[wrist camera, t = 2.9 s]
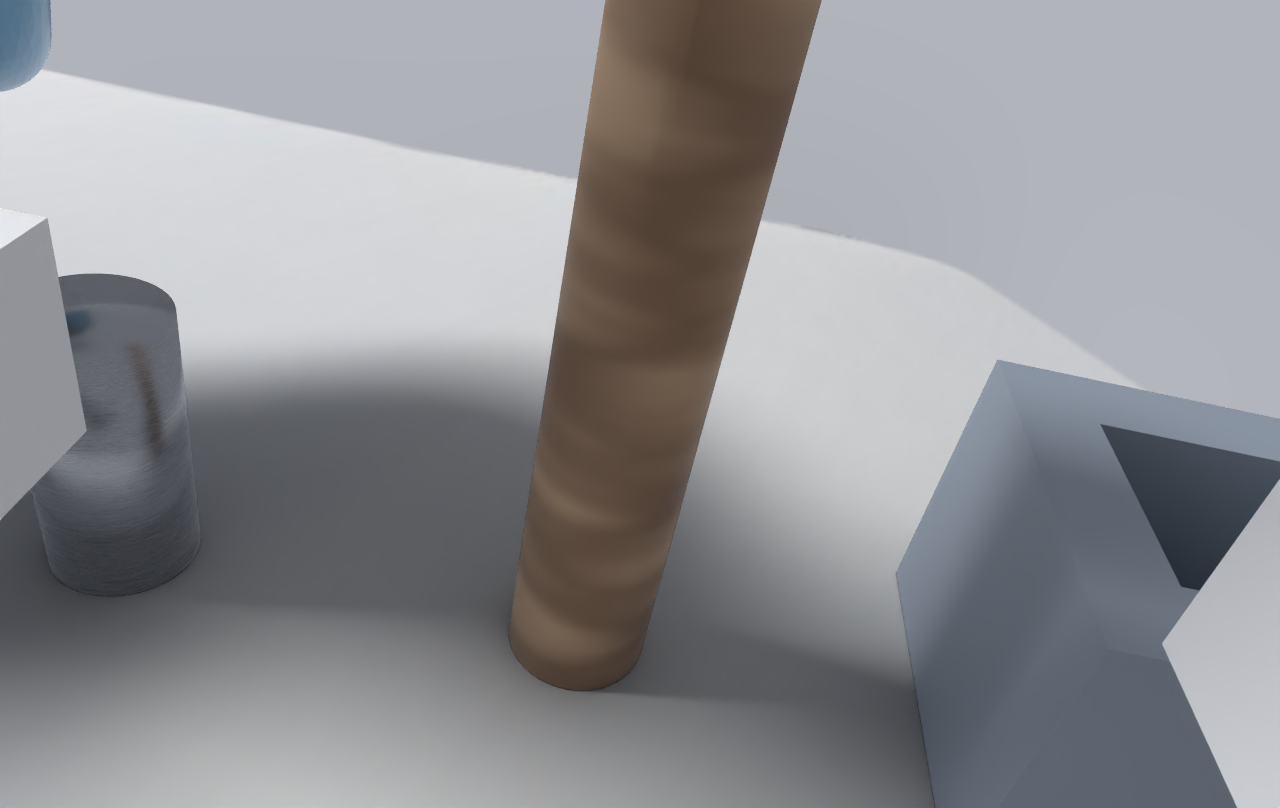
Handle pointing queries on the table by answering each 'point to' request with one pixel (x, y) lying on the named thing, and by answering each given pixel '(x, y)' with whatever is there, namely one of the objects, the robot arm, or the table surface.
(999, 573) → the collar block
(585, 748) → the table surface
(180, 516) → the short steel pin
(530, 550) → the long walnut pin
